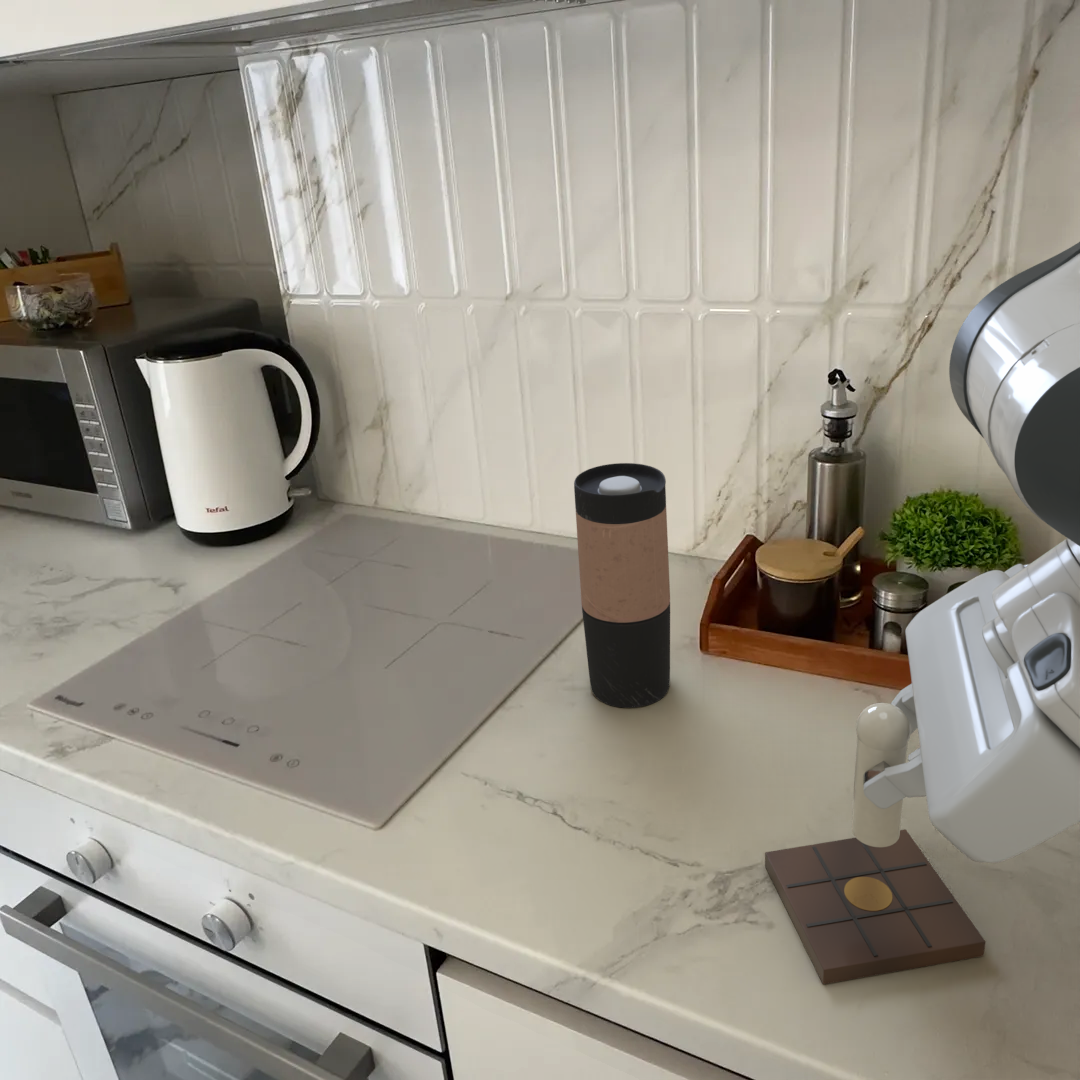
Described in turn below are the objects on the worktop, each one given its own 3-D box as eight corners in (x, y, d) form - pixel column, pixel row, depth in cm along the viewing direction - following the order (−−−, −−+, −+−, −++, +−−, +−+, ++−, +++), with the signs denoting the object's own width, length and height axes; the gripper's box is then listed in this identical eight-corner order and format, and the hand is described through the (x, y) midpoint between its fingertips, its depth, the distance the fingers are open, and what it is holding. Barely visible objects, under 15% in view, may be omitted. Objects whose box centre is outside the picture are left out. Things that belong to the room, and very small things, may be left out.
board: (904, 842, 67) (905, 828, 67) (983, 956, 58) (986, 940, 58) (764, 865, 66) (764, 851, 66) (823, 985, 57) (823, 969, 57)
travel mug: (576, 674, 90) (560, 472, 82) (652, 656, 92) (644, 456, 84) (605, 718, 84) (591, 502, 75) (687, 697, 85) (681, 484, 77)
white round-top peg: (887, 811, 61) (897, 689, 57) (910, 844, 58) (922, 717, 54) (841, 819, 61) (848, 696, 57) (862, 852, 58) (871, 726, 54)
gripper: (1004, 518, 60) (831, 645, 66) (1077, 708, 42) (831, 856, 49) (1075, 586, 60) (896, 705, 67) (1176, 802, 43) (920, 935, 49)
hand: (869, 771), depth 58 cm, fingers closed on white round-top peg, 3 cm apart
